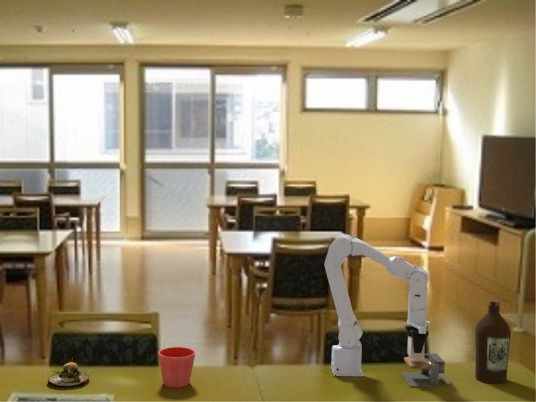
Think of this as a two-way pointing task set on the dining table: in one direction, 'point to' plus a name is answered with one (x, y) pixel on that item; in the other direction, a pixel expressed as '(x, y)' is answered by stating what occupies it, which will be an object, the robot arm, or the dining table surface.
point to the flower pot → (176, 365)
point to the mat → (417, 379)
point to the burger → (69, 376)
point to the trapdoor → (423, 364)
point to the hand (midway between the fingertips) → (415, 350)
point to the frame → (434, 373)
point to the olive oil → (492, 346)
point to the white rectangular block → (411, 350)
